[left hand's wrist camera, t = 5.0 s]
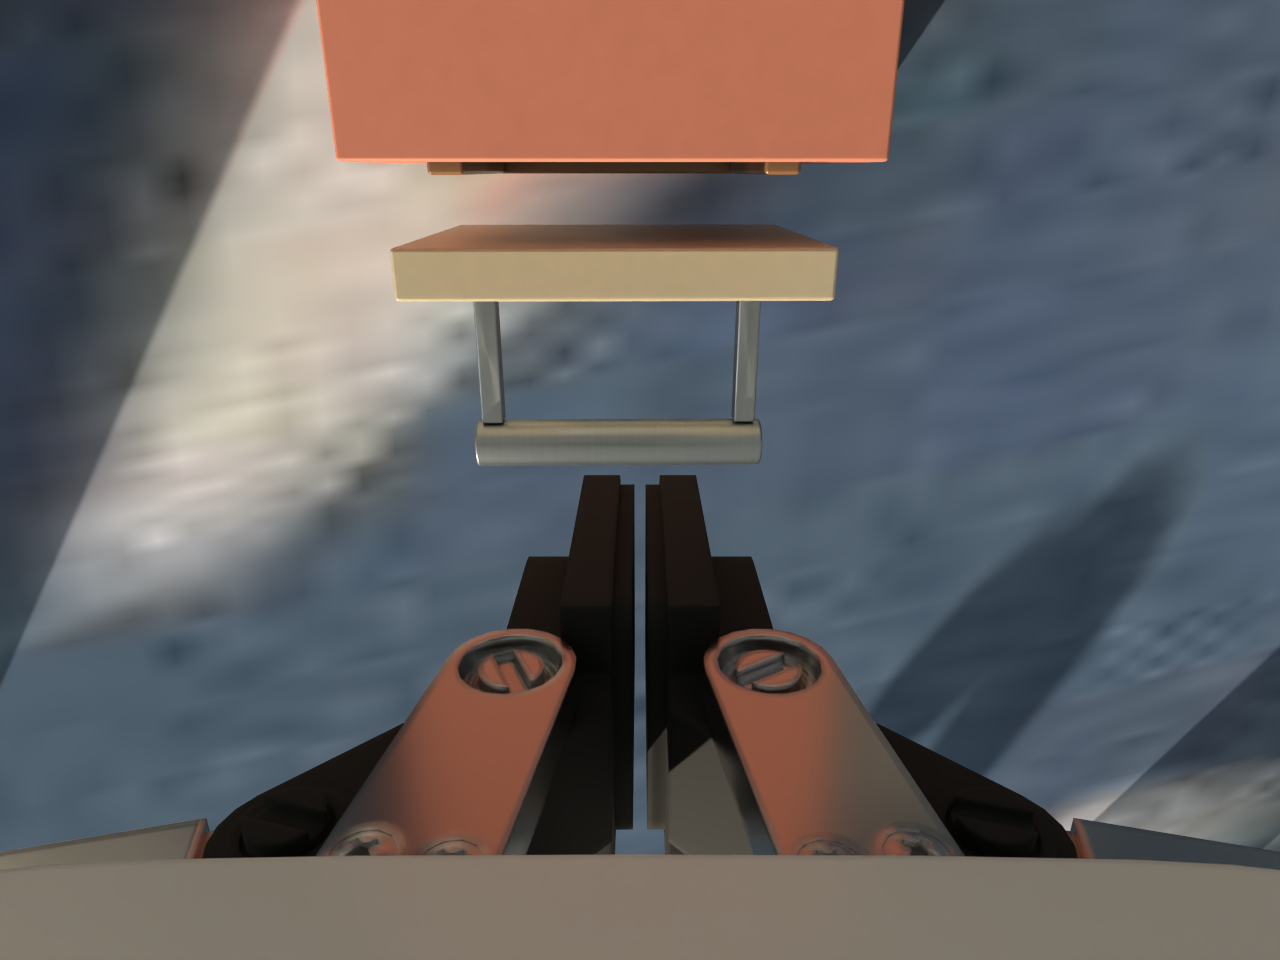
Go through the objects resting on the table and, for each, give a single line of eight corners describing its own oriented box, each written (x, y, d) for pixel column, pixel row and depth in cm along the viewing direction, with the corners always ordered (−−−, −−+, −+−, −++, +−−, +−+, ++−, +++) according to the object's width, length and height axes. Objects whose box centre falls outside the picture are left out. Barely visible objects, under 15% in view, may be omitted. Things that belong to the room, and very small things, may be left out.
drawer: (765, 418, 28) (817, 510, 21) (473, 419, 28) (417, 512, 20) (820, -528, 20) (945, -972, 12) (399, -534, 19) (254, -986, 12)
